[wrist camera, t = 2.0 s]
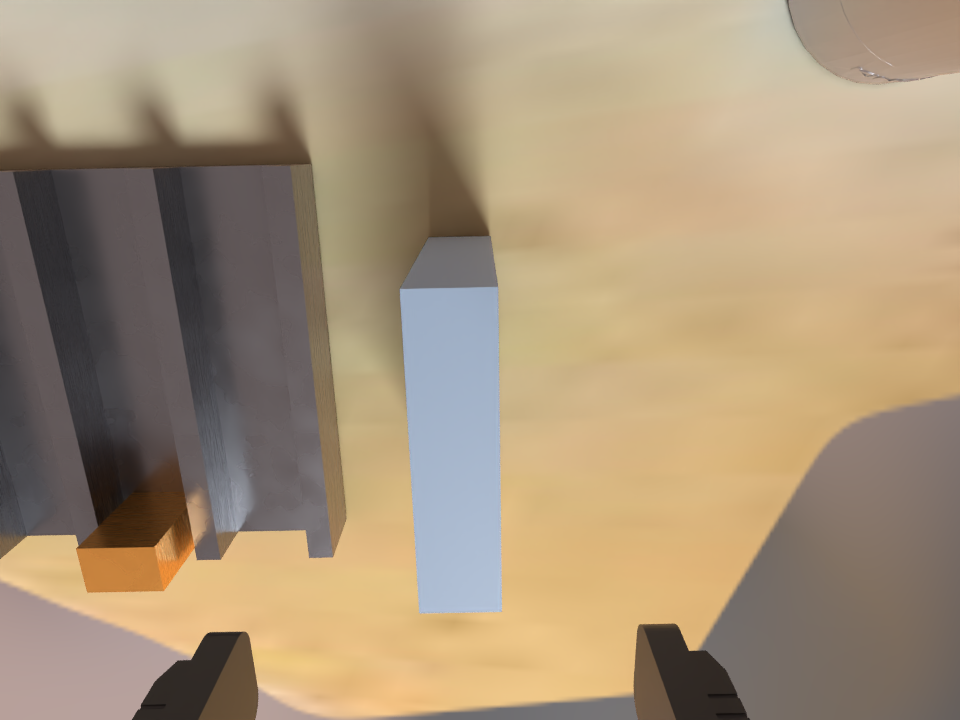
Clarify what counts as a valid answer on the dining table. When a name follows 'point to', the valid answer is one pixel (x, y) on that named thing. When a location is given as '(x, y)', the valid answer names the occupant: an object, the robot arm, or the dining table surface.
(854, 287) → the dining table surface
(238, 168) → the rack
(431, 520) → the panel
